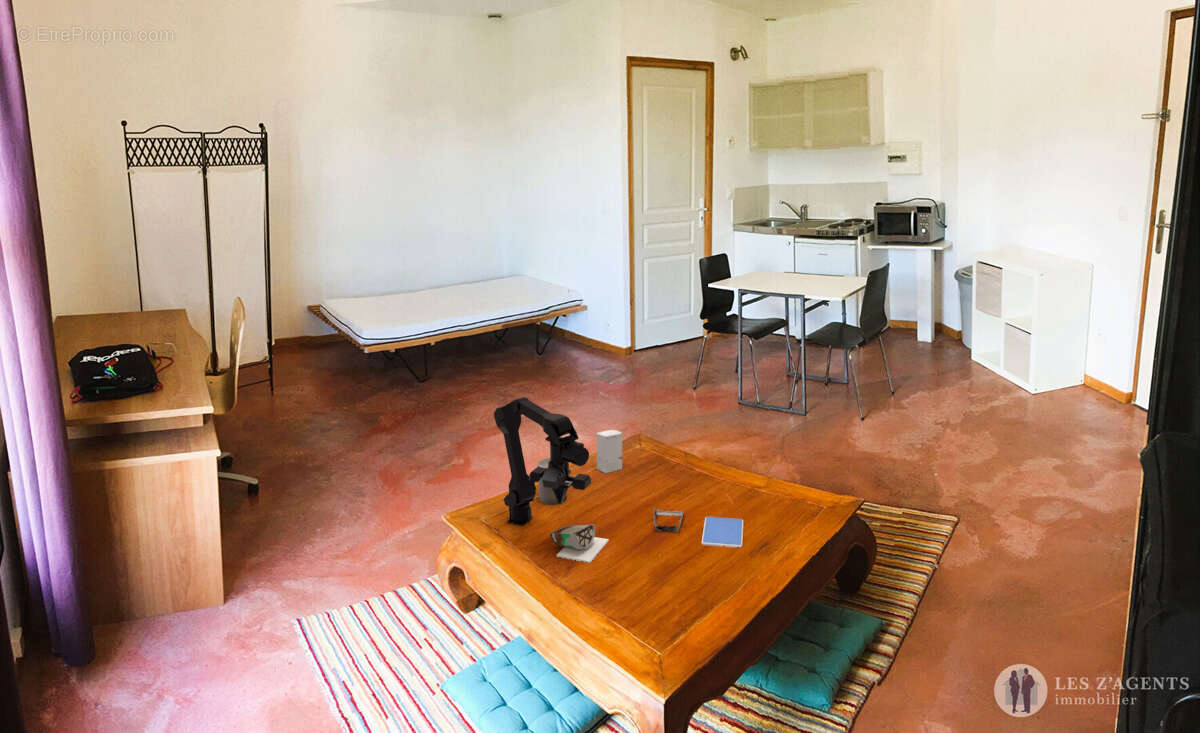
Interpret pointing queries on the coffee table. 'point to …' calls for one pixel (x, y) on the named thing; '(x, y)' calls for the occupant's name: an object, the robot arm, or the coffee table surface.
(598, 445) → the skincare box
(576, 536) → the food container
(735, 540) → the blue square panel
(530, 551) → the coffee table surface
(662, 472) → the coffee table surface
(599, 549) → the white flat rectangular board
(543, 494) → the pillar candle
